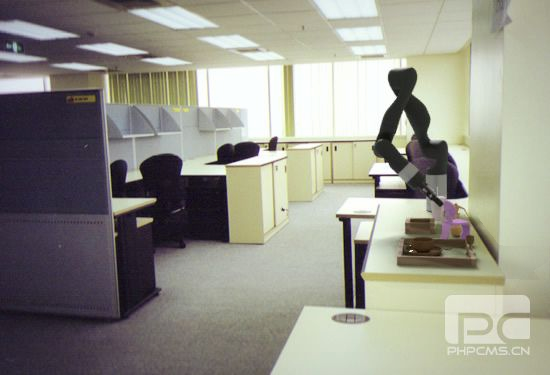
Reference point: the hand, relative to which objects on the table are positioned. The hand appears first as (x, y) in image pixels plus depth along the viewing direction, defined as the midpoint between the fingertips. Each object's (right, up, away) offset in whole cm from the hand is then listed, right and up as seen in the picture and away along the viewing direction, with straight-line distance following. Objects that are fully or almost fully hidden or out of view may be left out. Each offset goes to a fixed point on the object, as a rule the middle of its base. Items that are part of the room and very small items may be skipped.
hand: (441, 203), depth 205 cm
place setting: (-17, -15, -44) cm, 49 cm away
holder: (-11, -10, -8) cm, 17 cm away
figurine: (-1, -11, -18) cm, 22 cm away
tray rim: (-17, -15, -44) cm, 49 cm away
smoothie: (-1, -7, +1) cm, 7 cm away
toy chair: (-5, -13, -28) cm, 31 cm away
